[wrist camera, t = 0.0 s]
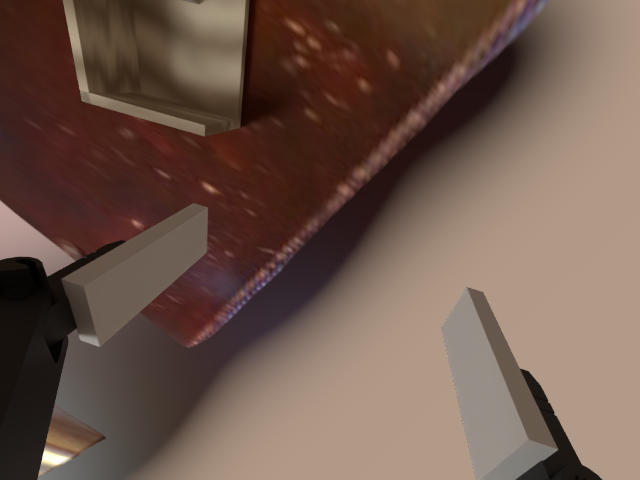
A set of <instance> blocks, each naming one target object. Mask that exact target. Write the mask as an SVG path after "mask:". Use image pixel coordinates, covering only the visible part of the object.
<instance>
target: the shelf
mask: <svg viewBox="0 0 640 480" xmlns="http://www.w3.org/2000/svg"><path fill="white" fill-rule="evenodd" d="M249 2H250V0H63V3H64V9H65V14H66V19H67V24H68V30H69V35H70V40H71V46H72V51H73V56H74V62H75V67H76V72H77V78H78V83H79V88H80V94H81V99H82V101H83V102H87V103H90V104H94V105H97V106H101V107H104V108H108V109H111V110H115V111H118V112H122V113H125V114H129V115H132V116H136V117H139V118H143V119H146V120H150V121H153V122H157V123H160V124H164V125H167V126H171V127H174V128H177V129H181V130H184V131H188V132H191V133H195V134H198V135H202V136H208V135H212V134H216V133H221V132H225V131H229V130H233V129H237V128H240V124H241V110H242V97H243V83H244V69H245V56H246V42H247V29H248V15H249Z"/></svg>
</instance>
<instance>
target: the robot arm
mask: <svg viewBox="0 0 640 480" xmlns="http://www.w3.org/2000/svg"><path fill="white" fill-rule="evenodd" d="M207 218H208V207H204V206H201V205H198V204H194V203H193V204H192V205H190V206H188V207H186V208H185V209H183V210H181V211H179V212H178V213H176V214H174V215H172V216H171V217H169V218H167V219H165V220H164V221H162V222H160V223H158V224H157V225H155V226H153V227H151V228H150V229H148V230H146V231H144V232H143V233H141V234H139V235H137V236H136V237H134V238H132V239H130V240H129V241H127V242H126V241H123V240H121V241H117V242H114V243H110V244H107V245H105V246H103V247H101V248H100V249H98V250H96V251H95V252H94V253H90V254H89V255H87V256H85V257H84V258H81V259H79V260H77V261H76V262H74V263H72V264H70V265H68V266H66V267H65V268H63V269H61V270H59V271H57V272H55V273H54V274H52V275H50V276H48V277H47V275H46V272H45V270H44V267H43V264H42V262H41V261H40V260H38V259H36V258H32V257H14V258H7V259H3V260H0V480H37V478H38V474H39V469H40V465H41V461H42V456H43V452H44V448H45V443H46V439H47V434H48V430H49V426H50V421H51V417H52V412H53V408H54V404H55V399H56V395H57V390H58V386H59V382H60V377H61V373H62V369H63V364H64V359H65V355H66V351H67V346H68V337H67V335H68V334H70V333H71V332H72V331H73V330H75V329H76V328H77V331H78V335H79V337H80V340H82V341H85V342H87V343H90V344H93V345H96V346H99V347H100V346H101V345H103V344H104V343H105V342H106V341H107V340H108V339H109V338H111V337H112V336H113V335H114V334H115V333H116V332H117V331H118V330H120V329H121V328H122V327H123V326H124V325H125V324H126V323H127V322H128V321H130V320H131V319H132V318H133V317H134V316H135V315H136V314H138V313H139V312H140V311H141V310H142V309H143V308H144V307H146V306H147V305H148V304H149V303H150V302H151V301H152V300H154V299H155V298H156V297H157V296H158V295H159V294H160V293H161V292H163V291H164V290H165V289H166V288H167V287H168V286H169V285H170V284H172V283H173V282H174V281H175V280H176V279H177V278H178V277H180V276H181V275H182V274H183V273H184V272H185V271H186V270H187V269H189V268H190V267H191V266H192V265H193V264H194V263H195V262H196V261H198V260H199V259H200V258H201V257H202V256H203V255H204V254H206V253H207ZM441 329H442V333H443V337H444V342H445V346H446V351H447V355H448V359H449V364H450V368H451V372H452V377H453V382H454V386H455V390H456V394H457V399H458V403H459V408H460V412H461V417H462V421H463V425H464V430H465V434H466V439H467V443H468V447H469V452H470V456H471V460H472V465H473V469H474V474H475V478H476V480H602V479H601V478H600V477H599V476H598V475H597V474H595V473H594V472H593V471H591V470H590V469H589V468H587V467H585V466H583V465H582V464H581V462H580V461H579V458H578V456H577V455H576V453H575V451H574V449H573V447H572V445H571V443H570V441H569V439H568V437H567V435H566V433H565V432H564V430H563V428H562V426H561V424H560V422H559V420H558V418H557V416H555V415H554V411H553V409H552V407H551V405H550V403H548V399H547V397H546V395H545V393H544V391H543V389H542V388H541V386H540V384H539V383H538V382H537V381H536V380H535V379H534V377H533V376H532V375H531V374H530V373H529V371H526V370H523V369H520V368H519V366H518V364H517V362H516V360H515V358H514V356H513V354H512V352H511V350H510V347H509V345H508V343H507V341H506V339H505V337H504V335H503V333H502V331H501V329H500V327H499V324H498V322H497V320H496V318H495V316H494V314H493V312H492V310H491V308H490V306H489V304H488V301H487V299H486V297H485V295H484V293H483V292H481V291H477V290H474V289H471V288H468V287H467V288H466V289H465V291H464V292H463V294H462V296H461V297H460V299H459V300H458V302H457V303H456V305H455V307H454V308H453V310H452V311H451V313H450V314H449V316H448V318H447V319H446V321H445V322H444V324H443V326H442V327H441Z"/></svg>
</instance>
